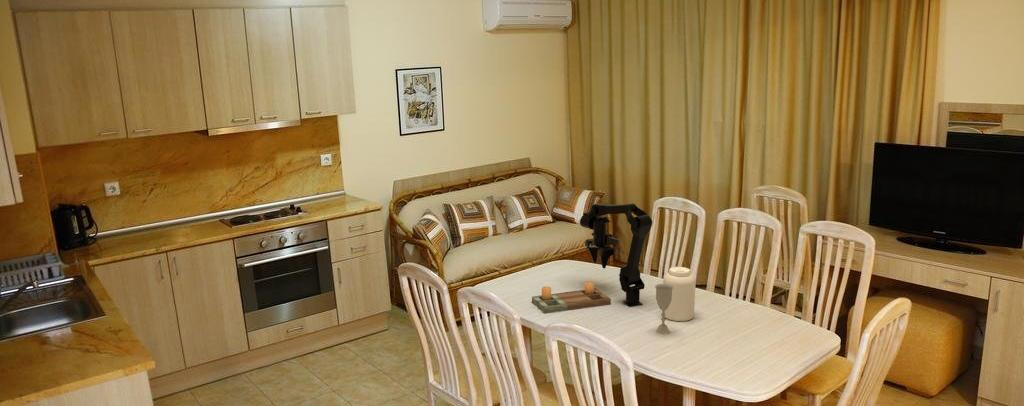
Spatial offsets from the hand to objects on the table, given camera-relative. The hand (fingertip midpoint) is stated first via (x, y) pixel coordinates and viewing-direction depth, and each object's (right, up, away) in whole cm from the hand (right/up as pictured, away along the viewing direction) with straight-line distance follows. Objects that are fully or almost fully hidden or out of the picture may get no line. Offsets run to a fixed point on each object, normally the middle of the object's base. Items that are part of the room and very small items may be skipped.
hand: (599, 265), depth 332 cm
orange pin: (-5, -14, -6) cm, 16 cm away
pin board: (-14, -15, -12) cm, 24 cm away
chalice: (+19, -22, -45) cm, 53 cm away
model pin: (-24, -15, -13) cm, 31 cm away
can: (+28, -18, -29) cm, 45 cm away
